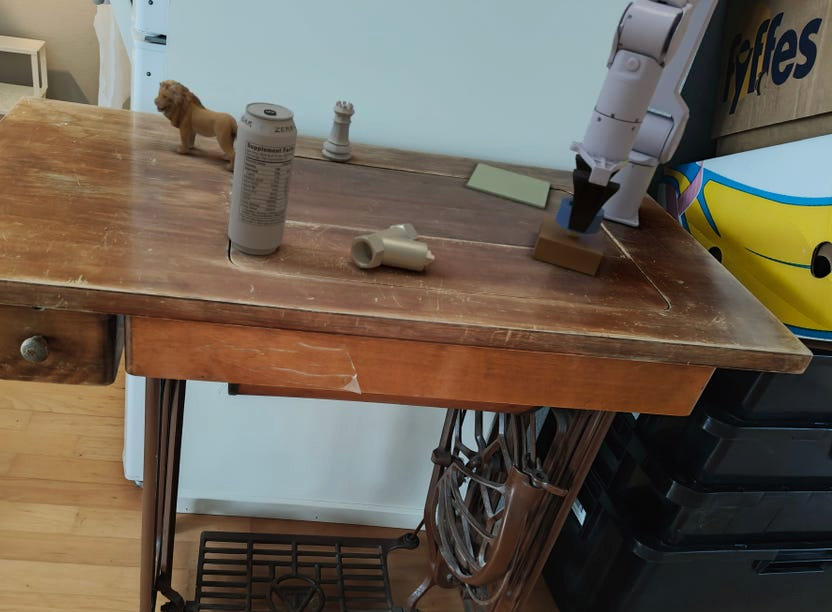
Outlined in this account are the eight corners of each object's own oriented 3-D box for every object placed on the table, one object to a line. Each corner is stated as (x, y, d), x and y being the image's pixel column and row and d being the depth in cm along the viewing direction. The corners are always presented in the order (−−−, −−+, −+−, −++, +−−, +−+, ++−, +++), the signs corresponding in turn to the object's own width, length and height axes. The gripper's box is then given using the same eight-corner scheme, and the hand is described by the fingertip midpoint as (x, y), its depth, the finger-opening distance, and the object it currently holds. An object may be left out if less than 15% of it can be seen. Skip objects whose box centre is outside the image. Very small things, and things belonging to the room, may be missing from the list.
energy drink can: (279, 235, 84) (296, 105, 76) (283, 259, 80) (302, 123, 71) (226, 230, 83) (238, 97, 75) (227, 254, 78) (240, 115, 70)
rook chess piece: (347, 164, 108) (357, 110, 104) (318, 157, 108) (327, 103, 104) (352, 155, 112) (362, 103, 108) (324, 148, 112) (332, 96, 108)
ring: (556, 211, 95) (563, 193, 94) (597, 223, 94) (604, 205, 93) (554, 225, 91) (560, 207, 89) (596, 238, 90) (604, 219, 89)
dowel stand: (537, 235, 99) (554, 186, 95) (595, 252, 98) (615, 204, 94) (531, 257, 92) (550, 206, 88) (594, 276, 91) (615, 225, 87)
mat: (478, 165, 119) (478, 162, 119) (549, 185, 118) (550, 182, 117) (466, 187, 110) (466, 184, 109) (543, 209, 108) (544, 206, 108)
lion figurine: (146, 147, 99) (148, 80, 94) (166, 138, 104) (168, 73, 99) (245, 176, 97) (252, 109, 92) (261, 165, 102) (268, 100, 97)
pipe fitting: (434, 273, 85) (391, 245, 87) (444, 244, 82) (400, 216, 85) (391, 290, 79) (347, 260, 82) (401, 260, 77) (355, 230, 80)
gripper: (586, 93, 91) (550, 195, 99) (582, 119, 79) (541, 232, 87) (642, 108, 90) (602, 209, 98) (646, 136, 78) (600, 249, 86)
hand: (577, 221), depth 92 cm, fingers closed on ring, 5 cm apart
